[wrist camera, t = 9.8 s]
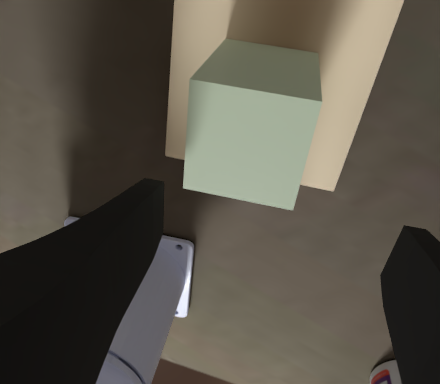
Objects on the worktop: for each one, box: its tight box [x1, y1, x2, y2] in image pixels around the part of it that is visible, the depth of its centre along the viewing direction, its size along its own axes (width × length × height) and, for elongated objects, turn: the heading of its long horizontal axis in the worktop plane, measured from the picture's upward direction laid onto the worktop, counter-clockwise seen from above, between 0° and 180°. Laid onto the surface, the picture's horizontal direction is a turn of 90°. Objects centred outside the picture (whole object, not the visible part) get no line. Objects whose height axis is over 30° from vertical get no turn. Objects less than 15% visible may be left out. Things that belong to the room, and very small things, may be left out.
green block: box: [183, 39, 322, 210], centre depth 15 cm, size 4×4×6 cm
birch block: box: [165, 0, 404, 192], centre depth 18 cm, size 9×9×3 cm
